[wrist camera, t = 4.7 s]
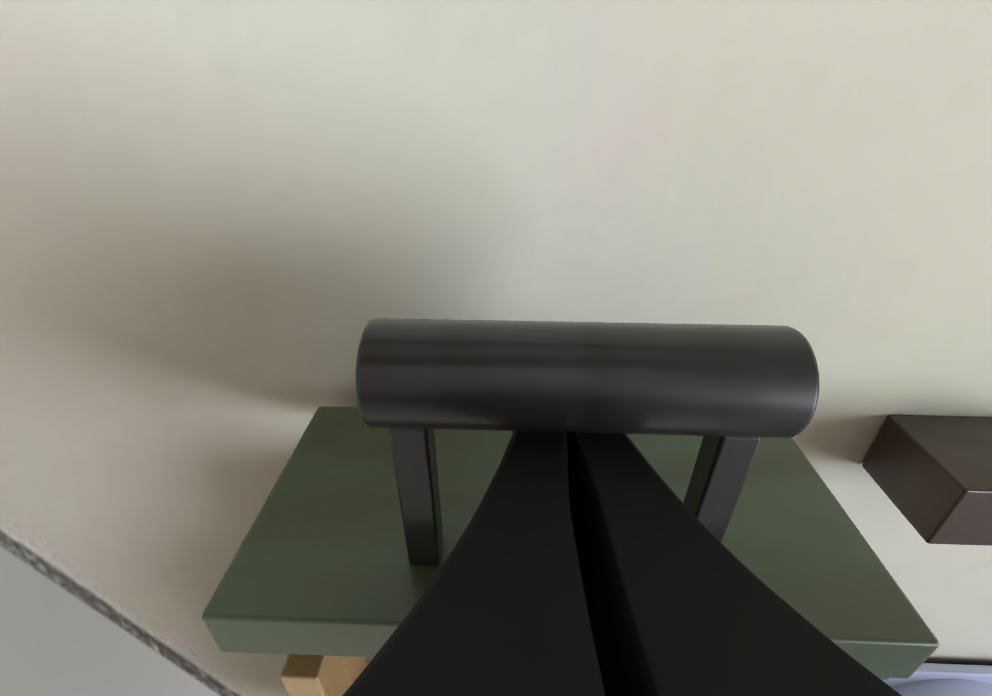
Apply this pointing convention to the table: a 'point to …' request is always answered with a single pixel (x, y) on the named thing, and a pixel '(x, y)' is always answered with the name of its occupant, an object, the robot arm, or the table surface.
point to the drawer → (479, 451)
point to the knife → (937, 475)
